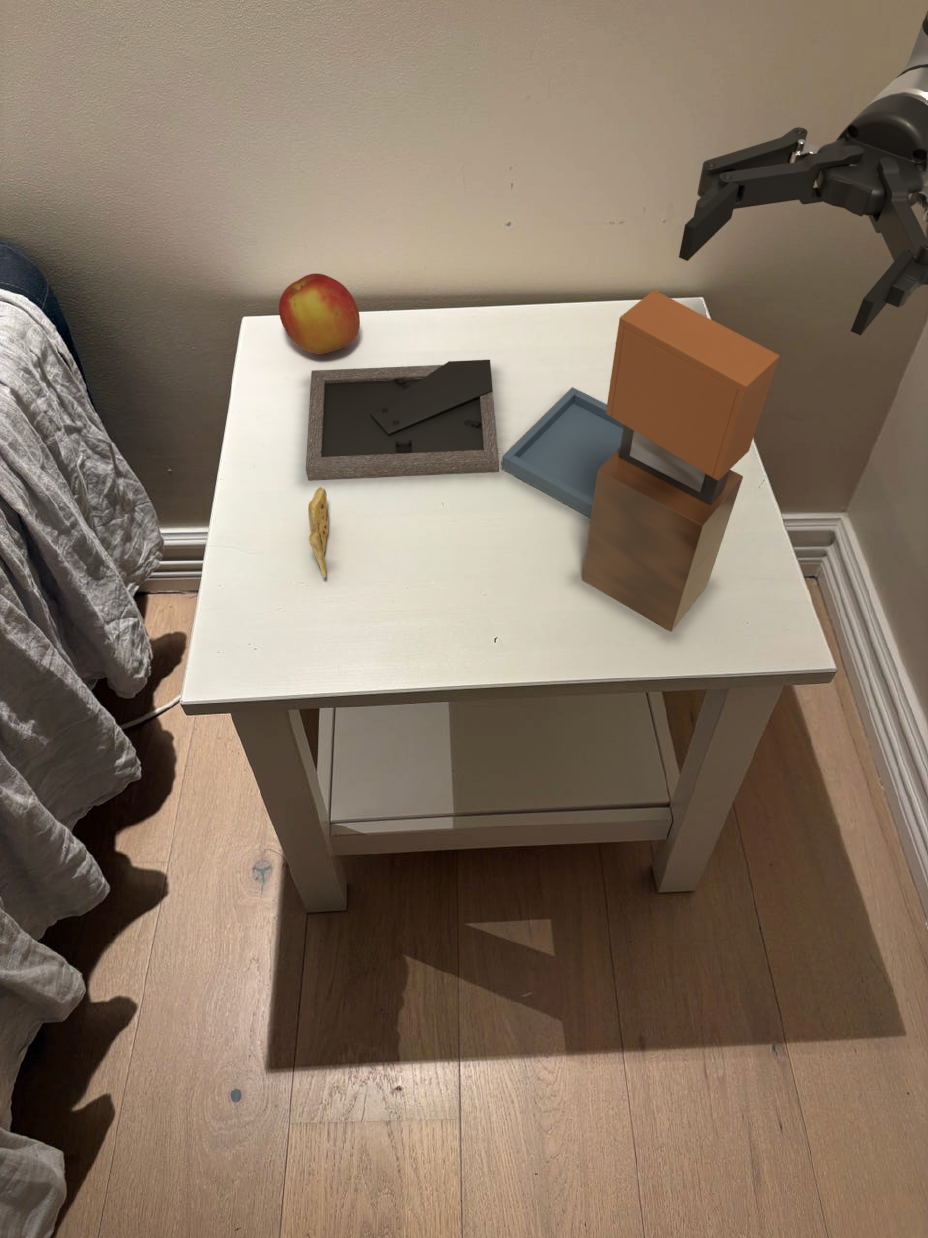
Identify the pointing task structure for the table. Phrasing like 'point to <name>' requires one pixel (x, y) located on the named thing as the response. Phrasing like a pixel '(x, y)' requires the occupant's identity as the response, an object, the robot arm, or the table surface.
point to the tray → (566, 450)
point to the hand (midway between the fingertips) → (770, 279)
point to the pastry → (318, 526)
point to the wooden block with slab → (656, 529)
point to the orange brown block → (688, 383)
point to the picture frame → (402, 421)
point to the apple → (319, 314)
